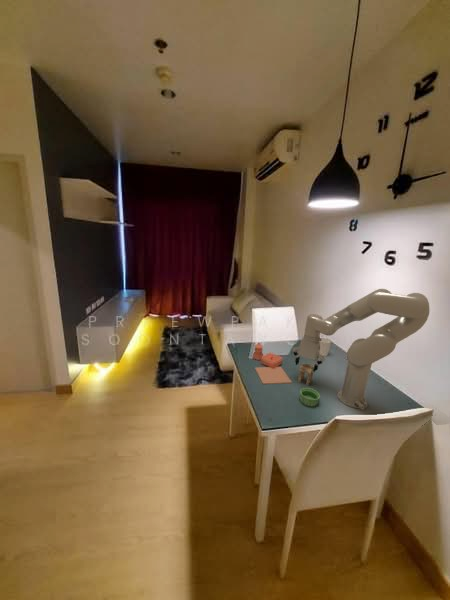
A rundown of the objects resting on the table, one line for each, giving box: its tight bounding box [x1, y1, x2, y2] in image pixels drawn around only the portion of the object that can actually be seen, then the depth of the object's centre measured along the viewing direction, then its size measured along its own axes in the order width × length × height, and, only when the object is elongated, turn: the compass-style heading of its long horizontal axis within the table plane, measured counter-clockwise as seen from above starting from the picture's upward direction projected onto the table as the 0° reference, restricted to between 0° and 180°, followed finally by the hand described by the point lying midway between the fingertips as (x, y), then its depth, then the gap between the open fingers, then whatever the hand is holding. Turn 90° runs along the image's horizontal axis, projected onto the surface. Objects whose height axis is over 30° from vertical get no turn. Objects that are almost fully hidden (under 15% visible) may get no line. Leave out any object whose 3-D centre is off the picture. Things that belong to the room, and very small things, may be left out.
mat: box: [254, 366, 293, 385], centre depth 138 cm, size 16×16×1 cm
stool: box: [297, 362, 314, 387], centre depth 133 cm, size 6×6×9 cm
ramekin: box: [299, 387, 321, 407], centre depth 118 cm, size 9×9×4 cm
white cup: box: [320, 337, 332, 357], centre depth 167 cm, size 8×8×10 cm
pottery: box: [252, 342, 284, 369], centre depth 153 cm, size 18×10×10 cm, turn 46°
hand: (305, 367), depth 133 cm, fingers open, 9 cm apart
